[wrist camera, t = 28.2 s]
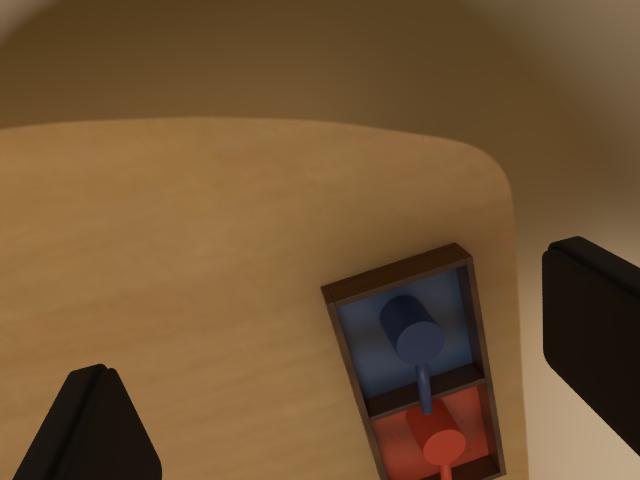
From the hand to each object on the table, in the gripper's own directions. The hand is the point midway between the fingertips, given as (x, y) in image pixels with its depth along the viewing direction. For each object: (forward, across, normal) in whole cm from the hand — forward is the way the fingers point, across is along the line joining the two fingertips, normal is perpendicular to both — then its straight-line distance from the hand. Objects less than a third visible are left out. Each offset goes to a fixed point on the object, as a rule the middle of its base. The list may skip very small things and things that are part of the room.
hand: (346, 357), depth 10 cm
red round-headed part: (+25, -8, +31) cm, 41 cm away
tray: (+26, -8, +25) cm, 37 cm away
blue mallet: (+25, -7, +20) cm, 33 cm away
